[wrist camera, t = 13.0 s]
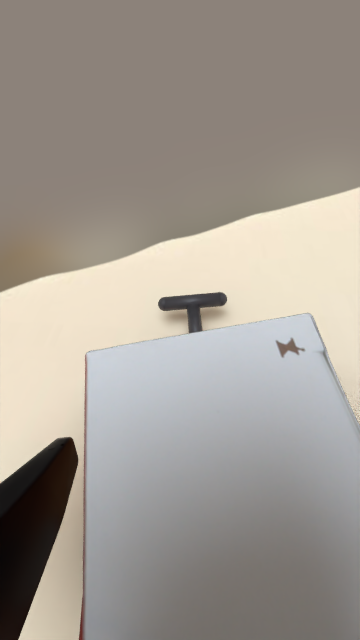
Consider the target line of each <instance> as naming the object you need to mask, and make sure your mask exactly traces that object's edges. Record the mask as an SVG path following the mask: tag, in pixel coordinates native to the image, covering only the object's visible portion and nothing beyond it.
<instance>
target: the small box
mask: <svg viewBox="0 0 360 640" xmlns="http://www.w3.org/2000/svg"><path fill="white" fill-rule="evenodd" d="M82 640H360V426H359V424H358V421H357V419H356V417H355V415H354V413H353V411H352V408H351V406H350V404H349V402H348V400H347V397H346V395H345V393H344V391H343V388H342V386H341V384H340V382H339V379H338V377H337V375H336V372H335V370H334V368H333V366H332V363H331V361H330V359H329V356H328V353H327V350H326V347H325V345H324V342H323V340H322V338H321V335H320V333H319V330H318V328H317V325H316V323H315V320H314V318H313V316H312V315H311V314H309V313H305V314H299V315H293V316H288V317H282V318H277V319H270V320H264V321H259V322H253V323H247V324H241V325H235V326H229V327H224V328H218V329H212V330H206V331H201V332H195V333H190V334H184V335H178V336H172V337H166V338H160V339H154V340H149V341H143V342H137V343H132V344H126V345H121V346H116V347H111V348H106V349H101V350H93V351H89V352H87V353H86V355H85V433H84V542H83V608H82Z"/></svg>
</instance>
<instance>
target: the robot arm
mask: <svg viewBox="0 0 360 640" xmlns="http://www.w3.org/2000/svg"><path fill="white" fill-rule="evenodd" d="M77 466H78V455H77V452H76V448H75V444H74V441H73V439H72V438H71V437H64V438H58V439H56V440H55V441H54V442H52V443H51V444H50V445H48V446H47V447H46V448H45V449H43V450H42V451H41V452H40V453H38V454H37V455H36V456H35V457H33V458H32V459H31V460H29V461H28V462H27V463H26V464H24V465H23V466H22V467H21V468H19V469H18V470H17V471H16V472H14V473H13V474H12V475H10V476H9V477H8V478H7V479H5V480H4V481H3V482H2V483H0V640H18V639H19V636H20V633H21V631H22V628H23V625H24V623H25V620H26V617H27V615H28V612H29V609H30V607H31V604H32V601H33V598H34V596H35V593H36V590H37V588H38V585H39V582H40V580H41V577H42V574H43V572H44V569H45V566H46V564H47V561H48V558H49V555H50V553H51V550H52V547H53V545H54V542H55V539H56V537H57V534H58V531H59V528H60V526H61V523H62V520H63V516H64V513H65V509H66V506H67V502H68V498H69V495H70V491H71V488H72V484H73V480H74V477H75V473H76V469H77Z"/></svg>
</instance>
